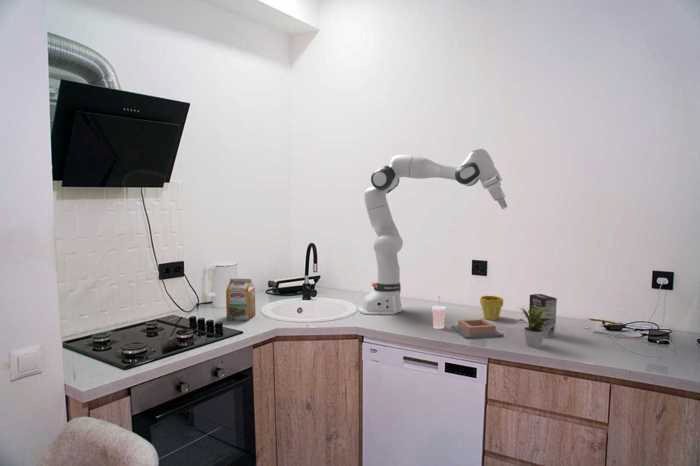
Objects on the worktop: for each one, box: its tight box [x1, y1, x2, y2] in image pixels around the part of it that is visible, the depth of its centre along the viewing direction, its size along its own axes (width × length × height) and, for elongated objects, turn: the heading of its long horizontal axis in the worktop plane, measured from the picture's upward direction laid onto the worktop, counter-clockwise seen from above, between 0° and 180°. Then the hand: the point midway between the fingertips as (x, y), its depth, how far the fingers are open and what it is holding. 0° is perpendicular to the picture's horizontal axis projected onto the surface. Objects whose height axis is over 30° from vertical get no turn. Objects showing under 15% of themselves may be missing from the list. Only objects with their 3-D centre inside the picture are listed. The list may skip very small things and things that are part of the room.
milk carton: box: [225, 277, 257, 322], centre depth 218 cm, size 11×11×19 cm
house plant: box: [515, 304, 552, 348], centre depth 177 cm, size 14×14×16 cm
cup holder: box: [450, 318, 504, 340], centre depth 195 cm, size 16×16×4 cm
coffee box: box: [528, 293, 558, 338], centre depth 192 cm, size 9×6×16 cm
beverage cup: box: [431, 295, 447, 330], centre depth 202 cm, size 6×6×14 cm
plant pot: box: [479, 295, 504, 321], centre depth 217 cm, size 10×10×10 cm
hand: (505, 208), depth 210 cm, fingers open, 8 cm apart
